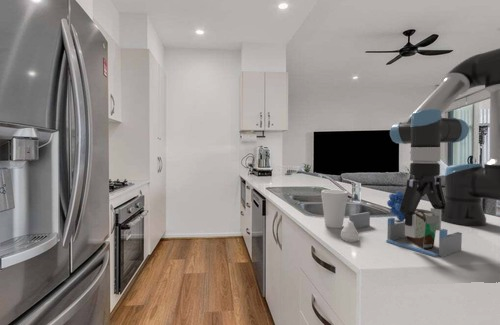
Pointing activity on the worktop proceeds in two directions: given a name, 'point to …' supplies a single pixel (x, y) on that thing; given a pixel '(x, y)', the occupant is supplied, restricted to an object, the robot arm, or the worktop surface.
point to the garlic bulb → (349, 232)
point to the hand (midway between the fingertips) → (423, 232)
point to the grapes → (396, 205)
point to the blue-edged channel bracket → (397, 231)
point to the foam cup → (334, 207)
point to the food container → (425, 229)
